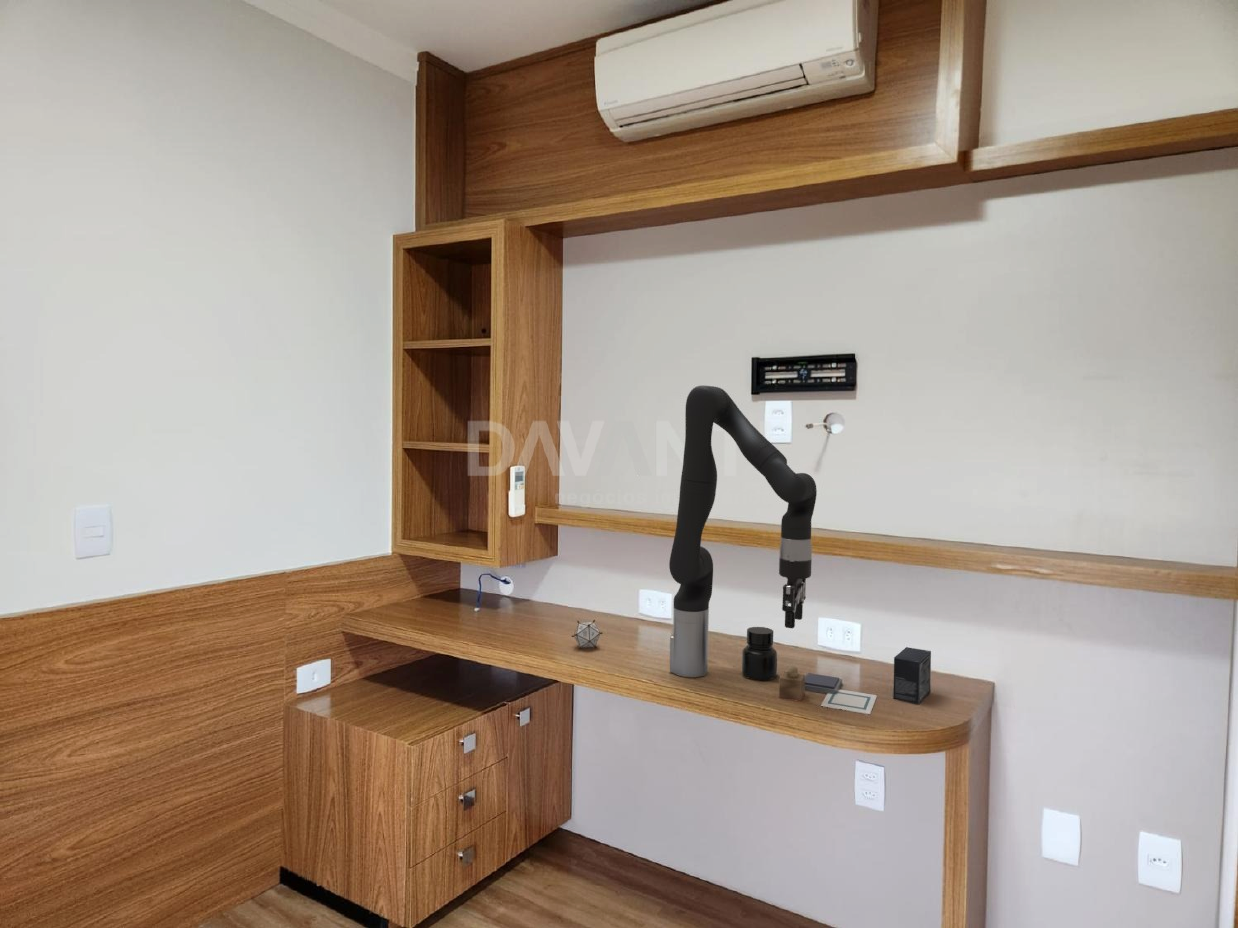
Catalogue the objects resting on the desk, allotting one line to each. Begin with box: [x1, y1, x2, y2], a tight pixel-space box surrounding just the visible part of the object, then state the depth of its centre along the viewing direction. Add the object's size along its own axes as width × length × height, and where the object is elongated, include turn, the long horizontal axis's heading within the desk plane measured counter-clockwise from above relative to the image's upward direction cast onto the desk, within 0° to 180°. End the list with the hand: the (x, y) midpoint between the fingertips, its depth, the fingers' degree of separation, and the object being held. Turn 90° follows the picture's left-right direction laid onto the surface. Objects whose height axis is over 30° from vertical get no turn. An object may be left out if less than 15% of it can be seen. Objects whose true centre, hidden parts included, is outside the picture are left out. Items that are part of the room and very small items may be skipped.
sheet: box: [820, 688, 878, 716], centre depth 179 cm, size 11×13×1 cm
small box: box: [892, 646, 932, 705], centre depth 183 cm, size 11×6×10 cm, turn 144°
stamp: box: [778, 666, 806, 702], centre depth 181 cm, size 5×5×7 cm
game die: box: [571, 619, 604, 651], centre depth 218 cm, size 9×8×10 cm
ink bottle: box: [741, 626, 778, 681], centre depth 196 cm, size 10×9×12 cm
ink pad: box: [804, 672, 843, 695], centre depth 188 cm, size 9×9×2 cm
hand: (793, 623), depth 181 cm, fingers open, 8 cm apart
